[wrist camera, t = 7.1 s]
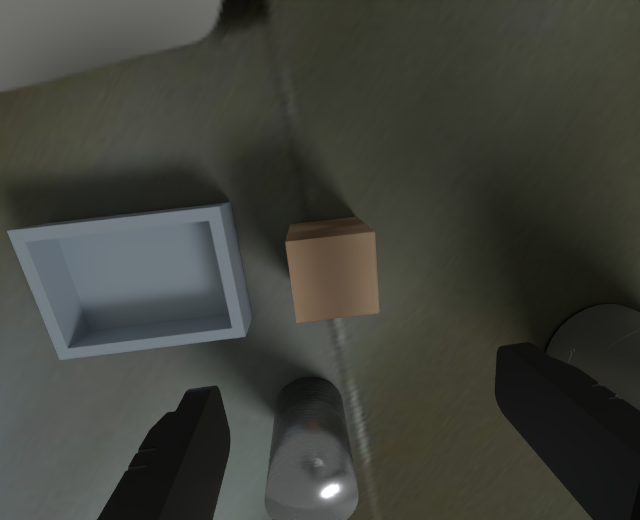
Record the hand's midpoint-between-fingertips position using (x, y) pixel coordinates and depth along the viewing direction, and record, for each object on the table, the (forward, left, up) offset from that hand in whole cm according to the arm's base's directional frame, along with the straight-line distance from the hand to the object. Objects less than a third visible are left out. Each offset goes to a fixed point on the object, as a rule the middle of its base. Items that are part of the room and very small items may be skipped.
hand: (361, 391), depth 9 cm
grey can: (+3, +14, -15) cm, 21 cm away
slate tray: (+13, 0, -15) cm, 20 cm away
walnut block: (0, 0, -15) cm, 15 cm away
